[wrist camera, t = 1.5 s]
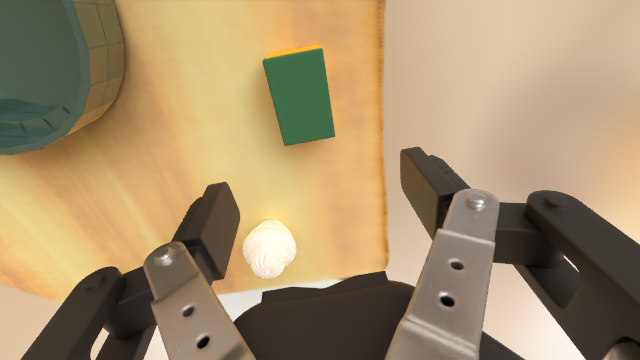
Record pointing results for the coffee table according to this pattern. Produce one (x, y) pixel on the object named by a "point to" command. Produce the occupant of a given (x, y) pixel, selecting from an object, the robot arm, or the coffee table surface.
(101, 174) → the coffee table surface
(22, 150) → the bowl
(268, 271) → the muffin
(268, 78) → the sponge
